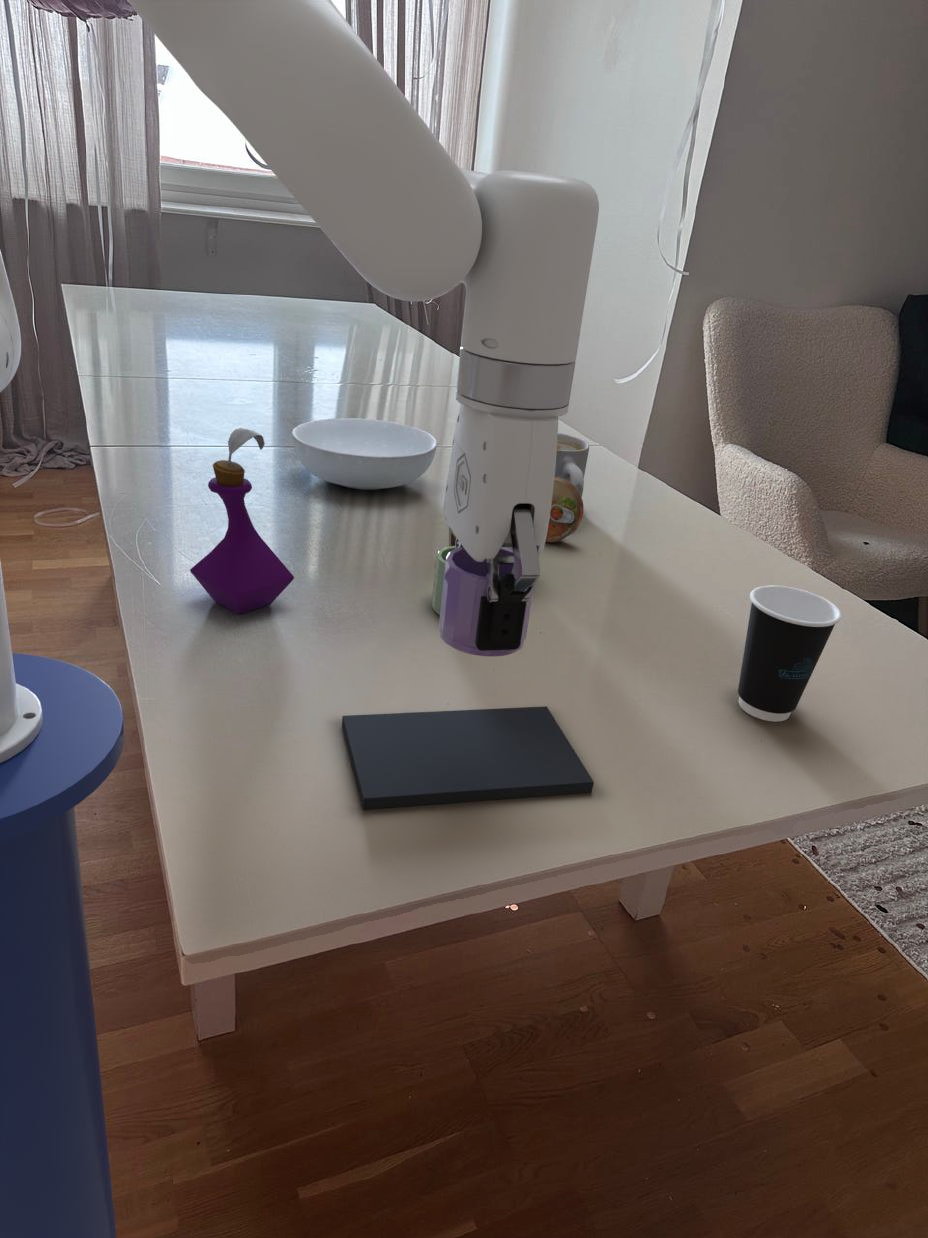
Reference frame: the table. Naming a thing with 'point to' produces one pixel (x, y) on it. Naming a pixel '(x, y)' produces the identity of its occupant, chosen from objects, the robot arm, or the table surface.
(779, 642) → the dixie cup
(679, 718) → the table surface
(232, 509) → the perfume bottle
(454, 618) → the lavender cup
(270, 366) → the table surface
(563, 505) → the tin
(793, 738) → the table surface
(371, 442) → the serving bowl
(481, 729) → the placemat
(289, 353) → the table surface
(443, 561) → the sage cup
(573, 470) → the coffee mug
